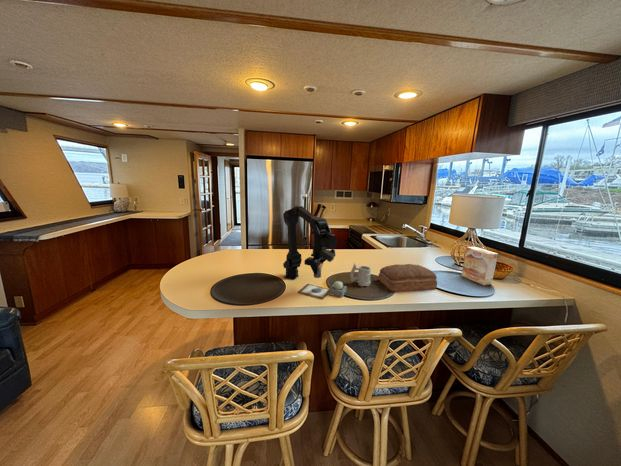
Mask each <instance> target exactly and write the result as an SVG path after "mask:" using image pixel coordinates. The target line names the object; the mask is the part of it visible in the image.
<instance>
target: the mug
mask: <svg viewBox="0 0 621 466" xmlns="http://www.w3.org/2000/svg"><path fill="white" fill-rule="evenodd" d="M371 269H372V268H371V267H370V266H368V265H360V266H359V267H357V265H356V263H353V267H352V269H351V270H350V273H349V279H350V280H351V282H354V281H356V284H357V283H358V284H359V285H358V284H357V285H358V286H360V285H361V286H360V287H362V286H367V287H369V286H370V285H371V275H372V273H371ZM356 271H357V276H354V273H355V272H356Z"/></svg>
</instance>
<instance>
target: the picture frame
mask: <svg viewBox="0 0 621 466" xmlns="http://www.w3.org/2000/svg"><path fill="white" fill-rule="evenodd" d="M297 293H298V294H302V295H306V296H309V297H313V298H315V299H316V298H318V299H320V300H324V299H325V298H326V297H327V296H328V295H329V288H325V287H322V286H318V285H314V284H311V283H310V284H309V283H307V284H305V285H304V286H302V288H300V289H299V290H298V291H297Z"/></svg>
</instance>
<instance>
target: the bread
mask: <svg viewBox="0 0 621 466" xmlns="http://www.w3.org/2000/svg"><path fill="white" fill-rule="evenodd" d="M377 278H378V281H379V280H380V281H379V282H380V283H382V284H383V285H384V286H385V287H386V288H387V289H388V290H390V291H391V292H403V291H404V292H407V291H420V290H421V291H423V290H434V289H437V287H438V281H437V274H436V273H434V272H433V270H431V269H429V268H427V267H425V266H422V265H419V264H412V263H407V264H399V263H398V264H391V265H387V266H384V267H382V268H380V270H379V274H378V275H377Z"/></svg>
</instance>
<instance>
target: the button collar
mask: <svg viewBox="0 0 621 466" xmlns="http://www.w3.org/2000/svg"><path fill="white" fill-rule="evenodd" d="M328 289H329V293H328V295H331V296H336V297H340V298H343V296H344V295H345V294H346V293H347V289H348V286H346V285H343V288H342V290H337V289H334V283H333V284H332V285H331V286H330V287H329V288H328ZM345 292H346V293H345ZM344 293H345V294H344Z"/></svg>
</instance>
